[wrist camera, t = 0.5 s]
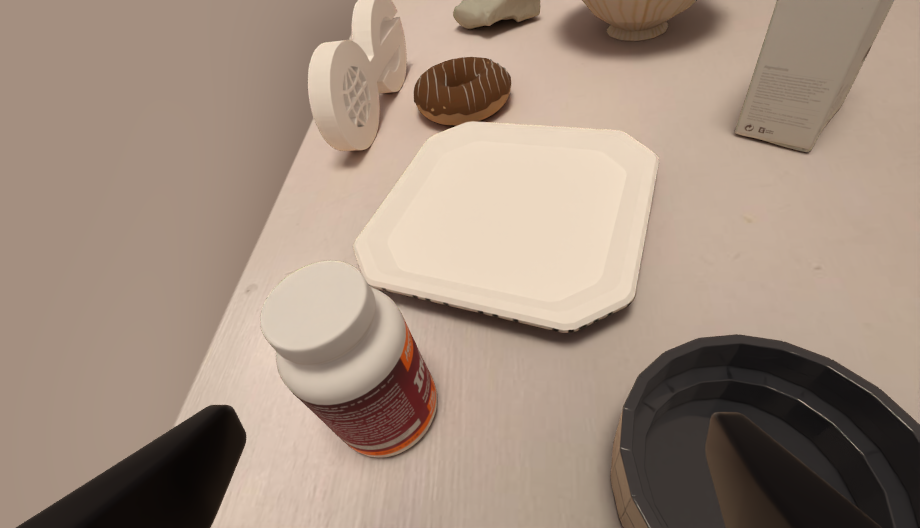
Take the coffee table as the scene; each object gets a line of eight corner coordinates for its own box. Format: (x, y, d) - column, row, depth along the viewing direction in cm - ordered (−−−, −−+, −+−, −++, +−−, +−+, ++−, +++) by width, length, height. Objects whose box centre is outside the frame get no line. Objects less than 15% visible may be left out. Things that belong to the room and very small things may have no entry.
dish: (936, 715, 15) (1059, 740, 11) (599, 596, 19) (609, 586, 15) (856, 407, 22) (918, 360, 18) (619, 364, 25) (629, 317, 22)
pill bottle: (459, 417, 25) (410, 310, 17) (365, 484, 24) (261, 402, 15) (410, 343, 29) (351, 227, 21) (326, 397, 27) (227, 294, 19)
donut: (401, 127, 47) (390, 93, 44) (445, 79, 53) (439, 46, 50) (488, 139, 43) (483, 102, 40) (527, 85, 48) (525, 49, 45)
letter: (358, 170, 43) (316, 73, 36) (338, 171, 44) (293, 75, 36) (412, 66, 57) (390, -20, 49) (396, 67, 57) (372, -18, 50)
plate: (622, 361, 26) (626, 342, 24) (339, 291, 33) (328, 273, 31) (659, 153, 37) (664, 131, 35) (444, 136, 45) (440, 117, 43)
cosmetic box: (808, 155, 34) (929, -78, 23) (727, 134, 37) (799, -78, 26) (843, 104, 37) (963, -122, 26) (765, 89, 40) (843, -117, 29)
